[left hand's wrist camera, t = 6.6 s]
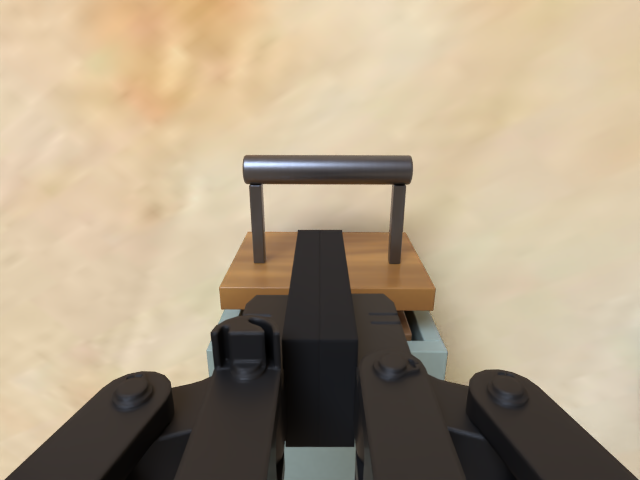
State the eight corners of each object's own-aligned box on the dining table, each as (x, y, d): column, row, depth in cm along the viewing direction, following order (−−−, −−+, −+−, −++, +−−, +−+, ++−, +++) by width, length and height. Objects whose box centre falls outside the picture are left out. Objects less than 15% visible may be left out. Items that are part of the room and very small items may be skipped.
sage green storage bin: (243, 265, 29) (205, 350, 20) (409, 266, 29) (448, 351, 20) (255, 445, 35) (230, 576, 25) (394, 447, 34) (420, 579, 25)
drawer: (242, 142, 25) (207, 167, 18) (412, 142, 25) (448, 167, 18) (259, 415, 32) (239, 513, 25) (391, 416, 32) (411, 515, 25)
